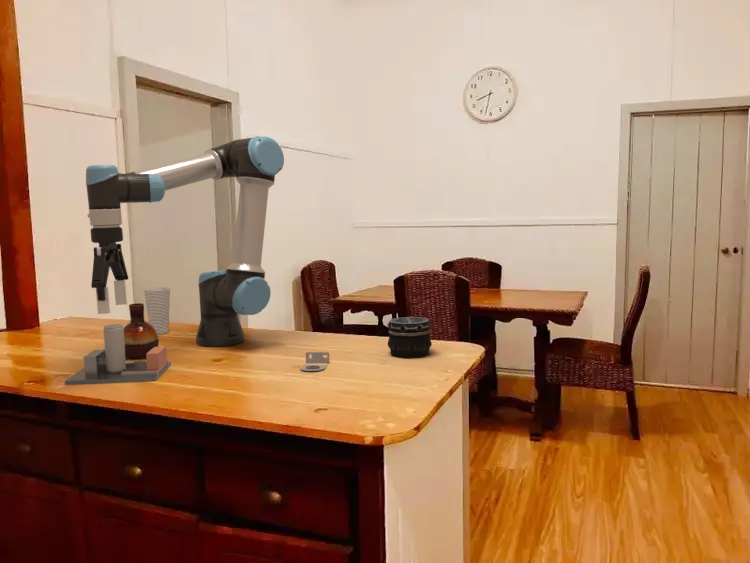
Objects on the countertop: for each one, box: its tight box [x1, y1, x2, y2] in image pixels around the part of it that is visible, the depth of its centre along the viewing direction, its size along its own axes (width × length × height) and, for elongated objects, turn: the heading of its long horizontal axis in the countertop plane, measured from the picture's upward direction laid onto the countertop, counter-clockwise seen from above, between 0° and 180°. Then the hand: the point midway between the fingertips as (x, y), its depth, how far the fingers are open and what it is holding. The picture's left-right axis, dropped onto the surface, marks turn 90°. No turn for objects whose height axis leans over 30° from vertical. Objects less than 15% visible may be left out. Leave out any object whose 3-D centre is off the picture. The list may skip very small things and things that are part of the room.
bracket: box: [300, 351, 330, 372], centre depth 169 cm, size 7×10×4 cm, turn 174°
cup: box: [143, 286, 171, 335], centre depth 220 cm, size 8×8×16 cm
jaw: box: [145, 346, 167, 372], centre depth 166 cm, size 3×8×5 cm, turn 5°
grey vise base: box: [64, 348, 172, 386], centre depth 165 cm, size 22×16×6 cm
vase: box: [123, 302, 160, 360], centre depth 185 cm, size 11×11×15 cm
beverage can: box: [103, 323, 126, 373], centre depth 165 cm, size 5×5×12 cm
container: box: [386, 316, 432, 359], centre depth 182 cm, size 13×13×10 cm
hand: (113, 308), depth 164 cm, fingers open, 13 cm apart
